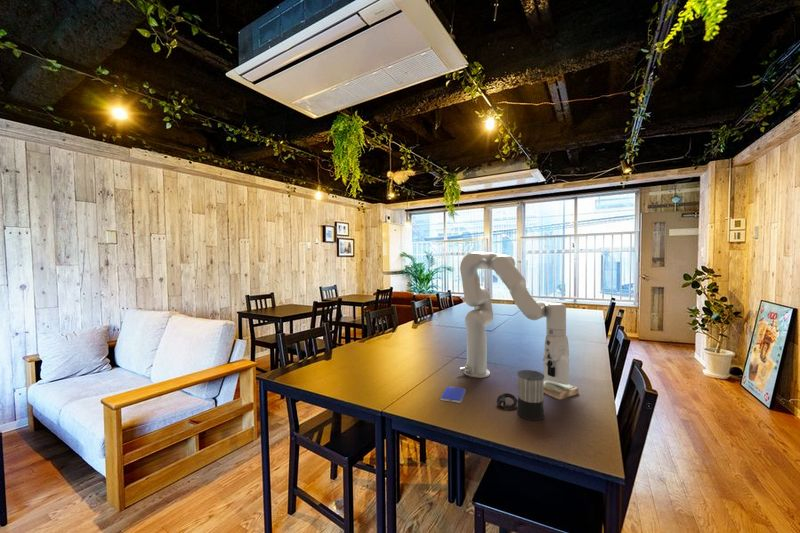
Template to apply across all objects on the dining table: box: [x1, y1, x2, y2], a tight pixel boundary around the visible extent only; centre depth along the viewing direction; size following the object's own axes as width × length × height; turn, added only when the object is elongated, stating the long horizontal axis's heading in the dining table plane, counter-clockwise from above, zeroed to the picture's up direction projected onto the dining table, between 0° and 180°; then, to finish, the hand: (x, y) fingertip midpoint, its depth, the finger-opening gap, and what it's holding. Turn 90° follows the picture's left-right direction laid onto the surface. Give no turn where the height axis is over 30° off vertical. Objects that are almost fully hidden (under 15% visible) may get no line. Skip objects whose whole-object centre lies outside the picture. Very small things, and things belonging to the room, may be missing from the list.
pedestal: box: [544, 379, 579, 400], centre depth 135 cm, size 12×12×3 cm
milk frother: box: [496, 369, 545, 421], centre depth 118 cm, size 14×16×15 cm
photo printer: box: [543, 354, 570, 385], centre depth 135 cm, size 10×4×12 cm, turn 39°
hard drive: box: [440, 385, 467, 404], centre depth 132 cm, size 2×8×12 cm
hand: (555, 374), depth 135 cm, fingers closed on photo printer, 5 cm apart
